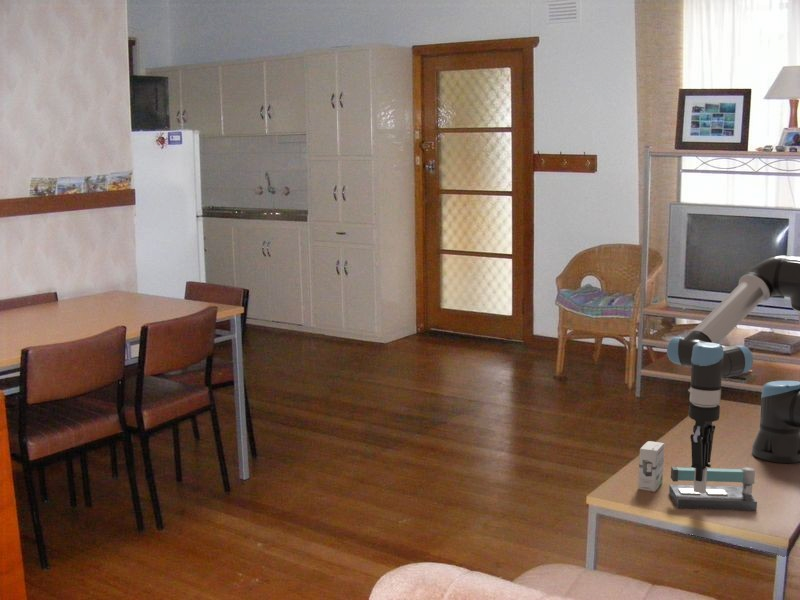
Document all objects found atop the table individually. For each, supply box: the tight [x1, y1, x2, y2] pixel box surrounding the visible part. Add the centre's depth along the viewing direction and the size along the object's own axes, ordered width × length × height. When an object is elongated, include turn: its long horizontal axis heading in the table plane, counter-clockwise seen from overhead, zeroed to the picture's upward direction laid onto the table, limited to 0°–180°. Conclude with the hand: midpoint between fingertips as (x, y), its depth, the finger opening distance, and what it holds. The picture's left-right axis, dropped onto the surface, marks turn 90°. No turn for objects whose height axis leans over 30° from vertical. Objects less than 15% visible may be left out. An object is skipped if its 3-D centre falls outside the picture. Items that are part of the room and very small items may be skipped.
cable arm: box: [670, 465, 756, 485], centre depth 250 cm, size 21×3×4 cm, turn 86°
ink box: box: [637, 440, 665, 492], centre depth 262 cm, size 9×5×12 cm, turn 151°
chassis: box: [668, 483, 758, 512], centre depth 250 cm, size 20×11×5 cm, turn 86°
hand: (699, 491), depth 245 cm, fingers closed
